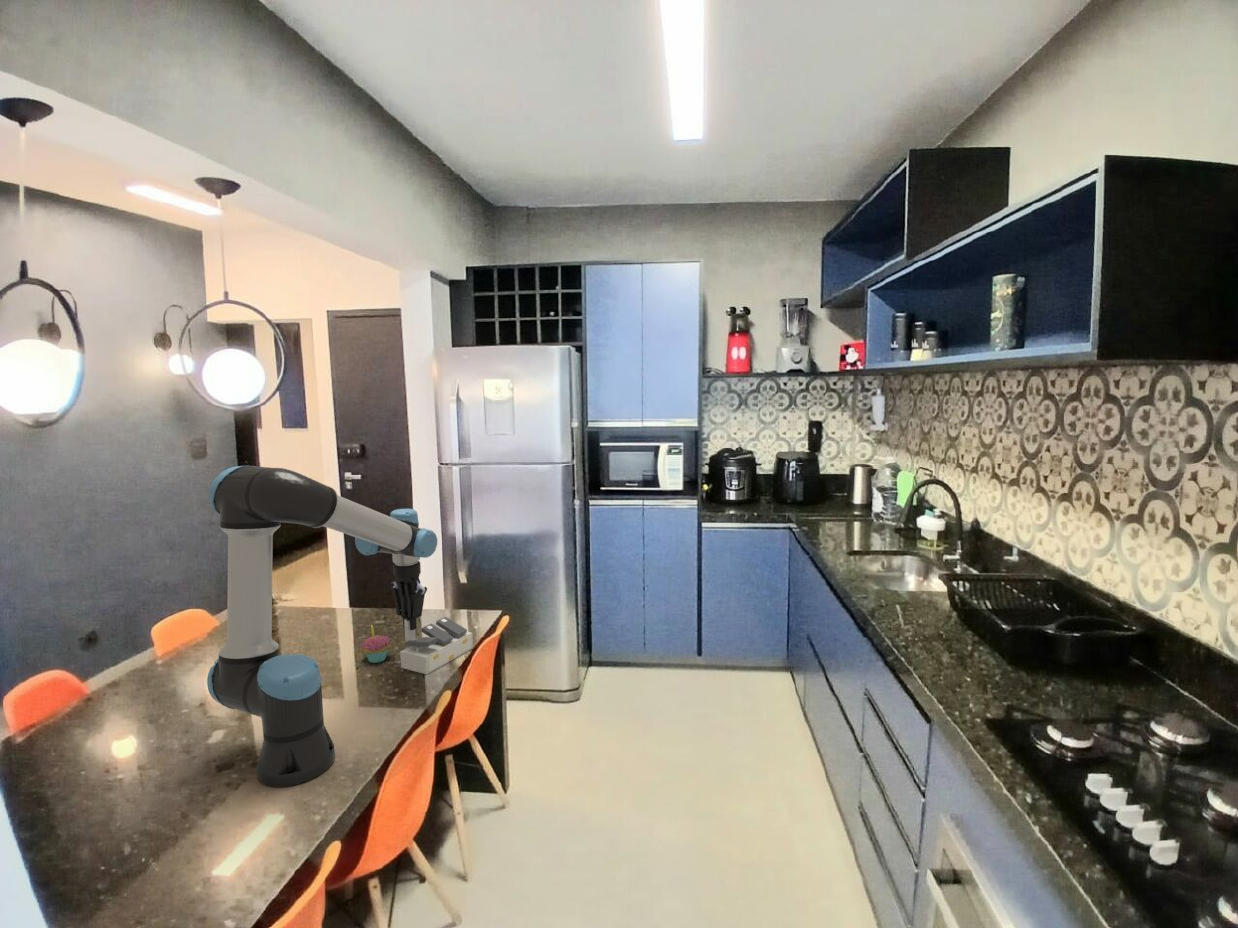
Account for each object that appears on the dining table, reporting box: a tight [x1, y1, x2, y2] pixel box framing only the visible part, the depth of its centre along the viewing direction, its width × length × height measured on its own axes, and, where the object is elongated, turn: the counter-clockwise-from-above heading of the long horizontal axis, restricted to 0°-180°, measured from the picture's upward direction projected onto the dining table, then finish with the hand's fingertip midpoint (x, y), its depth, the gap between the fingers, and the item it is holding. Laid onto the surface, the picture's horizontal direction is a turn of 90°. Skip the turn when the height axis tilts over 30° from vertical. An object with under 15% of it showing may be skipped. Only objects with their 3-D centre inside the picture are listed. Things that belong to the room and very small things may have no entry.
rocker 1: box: [405, 636, 438, 647], centre depth 184 cm, size 4×9×1 cm, turn 63°
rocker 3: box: [435, 616, 468, 638], centre depth 195 cm, size 4×9×1 cm, turn 63°
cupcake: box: [360, 623, 392, 664], centre depth 189 cm, size 9×8×12 cm
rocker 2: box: [420, 623, 453, 645], centre depth 190 cm, size 4×9×1 cm, turn 63°
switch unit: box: [399, 629, 474, 675], centre depth 190 cm, size 20×10×6 cm, turn 153°
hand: (410, 639), depth 186 cm, fingers closed
